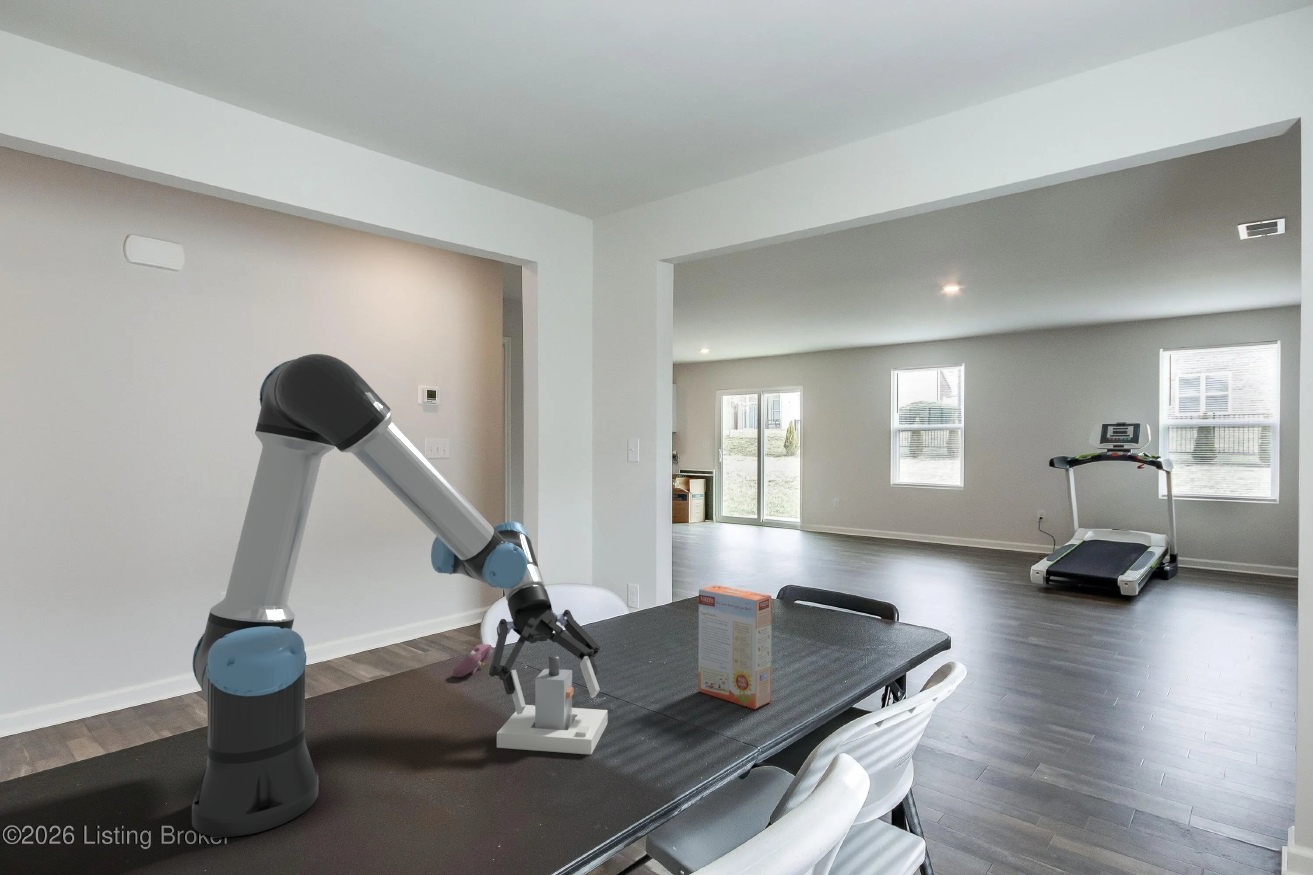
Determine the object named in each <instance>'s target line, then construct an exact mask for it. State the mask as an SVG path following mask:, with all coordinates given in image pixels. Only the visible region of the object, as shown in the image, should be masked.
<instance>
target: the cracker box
mask: <svg viewBox="0 0 1313 875" xmlns="http://www.w3.org/2000/svg"><path fill="white" fill-rule="evenodd" d="M697 659H698V661H697V662H698V664H697V665H698V676H697V677H698V678H697V679H698V684H697V685H698V687H697V688H698V689H697V690H698V692H699V693H703V694H706V695H709V696H712V697H714V698H715V697H716V698H718V699H721V700H725V701H727V702H731V703H733V702H734V704H737V705H739V706H743V707H746V706H747V707H746V708H749V709H752V710H756V709H759V708H761V707H763V706H765V705H767V704H769V703H771V702H772V595H771V594H765V593H759V592H753V591H749V590H743V589H739V588H732V587H727V586H723V585H722V586H721V585H716V584H715V585H710V586H707V587H702V588H700V589H698V658H697Z"/></svg>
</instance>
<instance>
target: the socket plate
mask: <svg viewBox="0 0 1313 875" xmlns="http://www.w3.org/2000/svg"><path fill="white" fill-rule="evenodd" d="M525 705H526V707H525V709H524V710H523V712H522V714H518V715H517V712H516V711H515V712H514V713H513V714H512V715H511V716H510V717H509V719H507V721H506V722H505V723H504V724H503V725H502V727H501V728H500V729H499V730H498V731H497V733H496V748H498V749H511V750H512V749H513V750H524V751H525V750H527V751H537V752H539V751H540V752H553V753H554V752H555V753H565V754H567V753H568V754H580V755H592V754H593V752H594V751H595V749H596V746H597V744H598V743H599V740H600V739H601V737H602V735H603V733H604V731H605V730H606V727H607V725H608V723H609V721H608V720H609V718H608V711H609V710H608V709H596V708H595V709H594V708H583V707H582V708H579V707H572V724H571V726H570V727H569V729H568V730H554V729H540V728H535V705H533V704H525Z"/></svg>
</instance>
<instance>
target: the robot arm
mask: <svg viewBox="0 0 1313 875" xmlns="http://www.w3.org/2000/svg"><path fill="white" fill-rule="evenodd" d="M260 386H261V387H260V390H259V403H260V410H259V414H258V419H257V423H256V427H255V431H254V435H255V436H256V437H257V439H258V441H260V443H261V445H262V449H261V453H260V456H259V459H258V464H257V469H256V472H255V477H254V480H253V485H252V487H251V488H252V489H251V491H250V492H251V493H250V496H249V500H248V505H247V508H246V513H245V516H244V519H243V520H244V521H243V525H242V528H241V533H240V536H239V541H238V544H237V549H236V553H235V555H234V562H233V564H232V568H231V573H230V576H229V580H228V584H227V589H226V592H225V596H224V598H223V599H222V600H220V602H218V603H216V604H215V605H212V607H211V608H210V609H209V614H208V618H207V621H206V625H205V629H204V632H203V634H201V635H202V636H200V638H199V639H198V642H197V643H196V646H195V648H194V650H193V654H192V655H193V656H192V671H193V674H194V678H195V680H196V681H197V683H198V685H199V687H200V690H201V691H202V693H203V696H204V699H205V701H206V706H207V708H206V709H207V760H206V764H205V767H204V769H203V773H202V775H201V778H200V782H199V784H198V787H197V791H196V794H195V796H194V798H193V801H192V805H191V826H192V828H193V829H194V830H195V831H196V832H198V833H199V834H201V835H205V836H209V837H218V838H221V837H222V838H231V837H232V838H233V837H240V836H247V835H252V834H255V833H260V832H265V831H268V830H270V829H273V828H277V827H279V826H280V825H284V824H286V823H288V822H290V821H292V820H294V819H296V818H297V817H299V816H301V815H302V814H304V813H305V812H306V811H307V810H308V809H310V808H311V807H313V805H314V803H315V802H316V801H317V799H318V797H319V774H318V773H317V770H316V769H315V768H314V765H313V764H314V763H313V761H312V757H311V755H310V754H311V753H310V751H309V749H308V746H307V743H306V737H305V735H306V730H305V729H306V723H305V720H306V666H307V654H306V650H305V642H304V639H303V637H302V635H300V634H299V633H298V632H297V631H295V630H292V629H293V626H294V621H295V618H296V617H295V616H296V615H295V613H294V611H293V610H292V609H291V608H290V606H289V604H288V601H289V597H290V593H291V589H292V585H293V579H294V576H295V572H296V567H297V564H298V563H297V562H298V559H299V555H300V550H301V547H302V542H303V538H304V534H305V530H306V526H307V521H308V517H309V512H310V509H311V504H312V501H313V497H314V492H315V487H316V483H317V479H318V475H319V471H320V467H321V463H322V458H323V457H324V456H325V455H326V454H327V453H330V452H331V451H333V450H334V449H335V448H336V449H337V450H338V451H340V452H341V453H350V454H352V455H354V456H355V457H356V458H357V460H359V461H360V462H361V464H363V465H364V466H365V467H366V468H367V469H368V470H369V471H370V473H372V474H373V475H374V477H376V478H377V479H378V480H379V481H380V482H381V483H382V484H383V485H384V486H385V487H386V488H387V489H389V491H390V492H391V493H392V494H393V495H395V497H396V498H397V499H398V500H399V501H400V502H401V503H402V504H403V505H404V506H406V507H407V509H409V510H410V511H411V513H412V514H413V515H414V516H416V517H417V518H418V519H419V520H420V522H421V523H423V524H424V526H426V527H427V528H428V529H429V530H430V531H431V532H432V533H433V534H434V535H435V538H434V540H433V542H432V545H431V551H430V561H431V566H432V568H433V570H434V571H435V572H436V573H438V574H447V575H448V574H449V575H452V574H454V575H455V574H461V575H464V576H465V577H468V578H472V579H473V580H476V581H479V582H482V583H483V584H486V585H488V586H490V587H491V588H499V589H503V592H504V596H505V600H506V601H507V608H508V611H509V614H510V617H511V620H512V621H507V620H506V619H505V618H501V619H500V621H499V622H498V625H497V627H496V634H497V640H496V643H495V647H494V650H493V651H494V652H493V655H492V659H491V663H490V666H489V671H488V675H489V677H493V678H494V677H495V676H497V677H498V678H499V680H500V681H502V683H503V686H504V692H505V693H506V695H509V696H510V695H511V697H512V700H513V704H514V708H515V712H517V715H518V714H522V712H523V710H524V709H525V707H526V705H527V704H526V702H525V698H524V693H523V692H522V687H521V684H520V681H519V676H518V672H517V669H512V667H513V665H514V664H515V662H516V659H517V658H518V655H519V654H520V652H521V650H522V649H523V647H524V644H525V643H526V642H528V643H530V644H535V643H537V642H547V641H548V640H549V641H551V642H552V643H556V644H558V645H559V646H561V647H562V648H564V649H565V650H566V651H568V652H570V653H571V654H572V655H574V656H575V658H578V659H579V660H581V661H580V662H579V666H580V669H581V673H582V675H583V678H584V680H585V684H586V687H587V690H588V693H589V696H590V698H591V699H592V698H596V696H597V695H598V694H599V692H600V690H601V689H600V686H599V682H598V681H597V677H596V675H597V674H598V668H597V666H596V662H595V659H594V658H595V657H597V655H598V653H599V651H600V650H601V646H600V645H599V644H598V643H597V642H596V641H595V640H594V639H593V637H591V635H590V634H588V632H587V631H586V630H585V629H584V628H583V627H582V626H581V625H580V624H579V623H578V622H577V621H576V620H575V619H574V616H573V615H572V613H571V610H570V609H564V612H562V613H559V614H556V613H555V612H554V611H553V607H552V603H551V599H550V597H549V594H548V591H547V589H546V585H545V583H544V582H545V581H544V579H543V575H542V573H541V570H540V567H539V564H538V561H537V557H536V554H535V551H534V549H533V544H532V540H531V538H530V536H529V534H528V531H527V530H526V527H525V525H523V524H522V523H521V522H518V521H515V520H514V521H512V520H510V521H507V522H501V523H499V524H497V525H495V526H494V527H493V526H492V524H490V523H489V522H488V521H487V520H486V518H485V517H484V516H483V515H482V514H481V512H479V510H477V509H476V508H475V507H474V505H473V504H472V503H471V502H470V501H468V500H467V498H466V497H465V496H464V495H463V494H462V493H461V492H460V491H459V490H458V488H456V487H455V485H453V483H451V481H450V480H449V479H448V478H447V477H446V476H445V475H444V473H442V472H441V470H440V469H438V468H437V466H436V465H435V464H434V463H433V462H432V461H431V460H430V459H429V458H428V457H427V455H425V454H424V452H422V451H421V449H420V448H419V447H418V446H417V445H416V444H415V443H414V442H413V441H412V440H411V439H410V438H409V437H408V435H406V434H405V432H403V430H402V429H401V428H400V427H399V426H398V425H397V424H396V423H395V422H394V420H392V414H393V413H392V412H393V411H392V409H391V408H390V406H388V404H387V403H386V402H385V401H384V400H383V399H382V398H381V397H380V396H379V395H378V394H377V393H376V392H375V390H374V389H373V388H372V387H371V386H370V385H369V383H367V381H366V380H365V379H364V378H363V377H362V376H361V375H360V374H359V373H358V372H357V371H356V370H355V369H354V368H353V367H351V366H350V365H349V364H348V363H347V362H345V361H343V360H341V359H340V358H337V357H335V356H332V355H328V354H323V353H311V354H306V355H302V356H300V357H298V358H294V359H290V360H287V361H284V362H282V363H280V364H279V365H277V366H275V367H274V368H273V369H272V370H271V371H269V373H268V374H267V375H265V378H264V379H263V381H262V384H261V385H260ZM557 623H559V624H560V625H559V624H557ZM564 629H565V631H564ZM511 630H513V632H515V633H516V634H517V635H518V636H519V638H518V640H517V641H516V643H515V645H514V647H513V649H512V651H511V652H510V654H509V656H508V658H507V660H506V662H505V663H504V665H502V664H501V661H502V658H503V654H504V650H505V645H506V642H507V638H508V637H507V636H508V635H509V634H510V632H511ZM511 669H512V670H511Z"/></svg>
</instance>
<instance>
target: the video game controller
mask: <svg viewBox="0 0 1313 875" xmlns="http://www.w3.org/2000/svg"><path fill="white" fill-rule="evenodd" d="M494 650H495V647H494V646H493V645H491V644H489V643H487V644H486V642H483V643H481V644H477V645H475V646H474V647H473V648H472V649H471V651H470V652H469V654H467V655H466V657H465V658H464V659H463V660H462V661H461V662H460V663H458V664H457V665H456V666H455V667H454V669H453V670H452V676H453V677H454V678H462V677H464V676H466V675H467V674H469V673H470V674H471V675H474V674H476V672H477V671H478V670H482V668H483V667H484V666H485V663H486V662H487V661H488V660H489V658H490V657H491V655H492V653H494V652H493V651H494Z"/></svg>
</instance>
